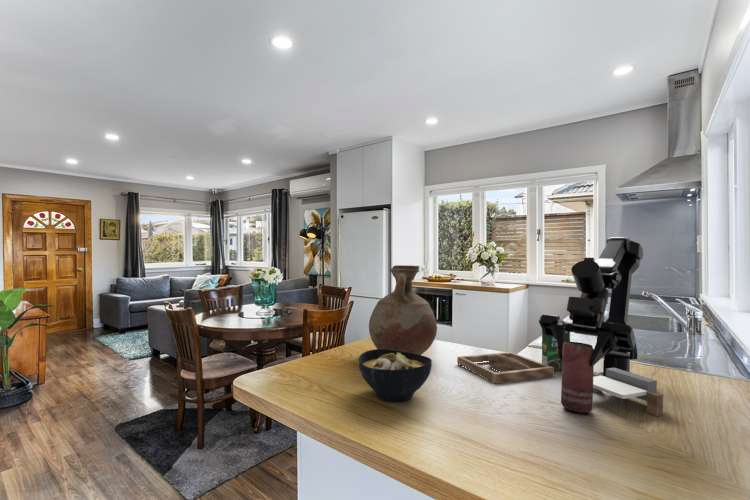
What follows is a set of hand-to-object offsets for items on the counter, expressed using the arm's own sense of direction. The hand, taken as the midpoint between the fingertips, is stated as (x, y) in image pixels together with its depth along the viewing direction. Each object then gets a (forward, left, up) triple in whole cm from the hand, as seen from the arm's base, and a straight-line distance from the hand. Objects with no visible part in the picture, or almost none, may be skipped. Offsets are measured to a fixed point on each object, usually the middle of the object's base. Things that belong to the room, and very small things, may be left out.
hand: (575, 361), depth 81 cm
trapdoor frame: (-16, -1, -11) cm, 20 cm away
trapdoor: (-14, -1, -9) cm, 17 cm away
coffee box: (-21, -25, -11) cm, 34 cm away
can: (-1, 0, -10) cm, 10 cm away
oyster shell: (-8, -29, -11) cm, 32 cm away
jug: (+19, -48, -11) cm, 52 cm away
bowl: (+34, -21, -11) cm, 41 cm away
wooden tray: (-5, -29, -11) cm, 31 cm away
